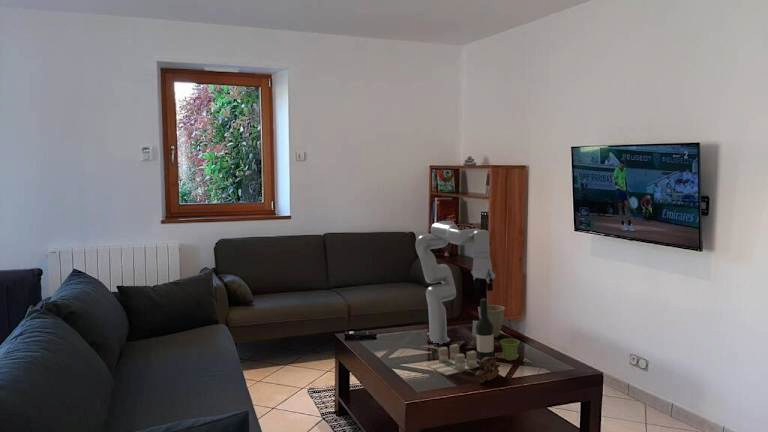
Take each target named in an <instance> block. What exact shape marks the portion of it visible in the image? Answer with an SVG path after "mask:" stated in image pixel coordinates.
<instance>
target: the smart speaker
mask: <svg viewBox="0 0 768 432" xmlns="http://www.w3.org/2000/svg"><path fill="white" fill-rule="evenodd" d="M478 321H479V320H472V332H471V333H472V335H471V336H472V340H471V341H472V343H473V345H474V346H476V347H477V337H476V325H477V323H478Z"/></svg>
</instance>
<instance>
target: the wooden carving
mask: <svg viewBox="0 0 768 432" xmlns="http://www.w3.org/2000/svg"><path fill="white" fill-rule="evenodd" d="M478 365H479V367H478V368H479V370H476V373H475V374H474V375H475V377H476V380H477V382H479V383H484V382H485V381H492V380H494V379H496V377H497V376H498V375H499V372H500V369H499V368H500V367H501V364H500V363H497V357H495V356H494V357H485V358H483V359H482V360H479V361H478ZM493 378H494V379H493ZM491 379H492V380H491Z"/></svg>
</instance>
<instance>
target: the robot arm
mask: <svg viewBox="0 0 768 432" xmlns="http://www.w3.org/2000/svg"><path fill="white" fill-rule="evenodd" d="M448 243H450V244H453V245H457V246H465V245H473V253H474V254H473V255H474V256H473V260H472V270H470V273H471V277H472V280H473V283H474V284H473V285H474V286H473V287H474V289H480V288H481V279H482V280H486V291H487V292H491V291H493V290H494V285H493V284H494V281H495V278H496V274H495V272H493V268H492V266H493V265H492V260H491V253H490V251H491V250H490V232H489V230H486V229H479V228H467V229H466V228H465V229H460V228H459V227H458V226H457V225H456V223H455V222H454V221H452V220H443V221H436V222H434V223H433V224H432V225H430V233H425V234H422V235H419V236H418V237H417V239H415V245H414V246H415V250H416V254H417V256H418V258H419V261H420V264H421V269H422V273H423V277H424V280H425V282H426V283H429V284H433V285H431V286H429V287H427V288H426V291H425V296H426V301H427V302H426V303H427V309H428V324H429V325H428V327H429V330H428V331H429V332H427V333H426V334H427V336H428V338H430V340H431V341H433V343H439V345H444V344H443V343H446V344H448V343H450V342H449V341H451V339H450V337H448V334H447V333H448V332H447V330H448V329H447V327H448V326H447V311H446V307H445V305H444V304H443V302H446V301H450V300H454V299H455V298H456V296H457V290H456V284H455V280H454V277H453V273H452V270H451V268H450V266H449V265H447V264H446V263H441V264H438V263H437V259H436V256H435V254H434V253H433V252H432V251H431V250H432V249H433V250H434V249H435V250H436V249H440V248H444V247H445V246H446V247H447V245H448ZM435 283H439V284H435ZM447 342H448V343H447Z"/></svg>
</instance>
